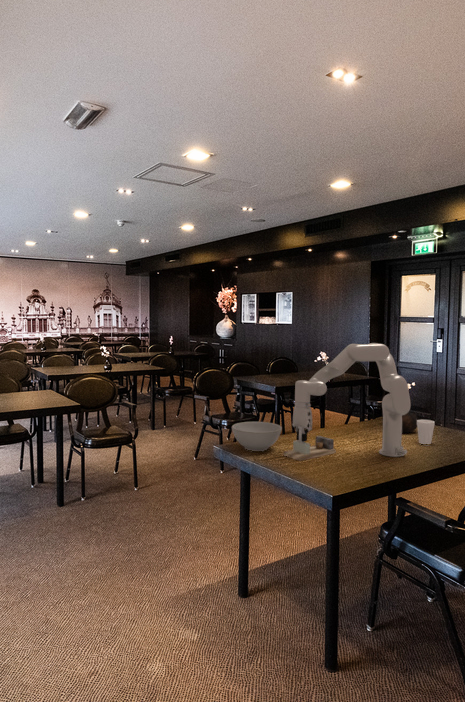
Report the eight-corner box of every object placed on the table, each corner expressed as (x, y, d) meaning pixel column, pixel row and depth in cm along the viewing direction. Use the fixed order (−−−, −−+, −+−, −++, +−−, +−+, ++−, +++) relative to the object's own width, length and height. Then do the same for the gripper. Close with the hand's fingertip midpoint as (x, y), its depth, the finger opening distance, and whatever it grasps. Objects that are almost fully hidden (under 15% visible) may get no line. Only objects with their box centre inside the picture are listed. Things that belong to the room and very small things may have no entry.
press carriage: (310, 453, 250) (311, 423, 249) (305, 454, 248) (305, 424, 247) (298, 449, 257) (298, 420, 257) (292, 450, 255) (293, 421, 254)
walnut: (324, 448, 260) (324, 443, 260) (319, 449, 258) (319, 443, 258) (319, 447, 263) (319, 441, 263) (314, 448, 261) (314, 442, 261)
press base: (335, 452, 259) (335, 439, 259) (299, 460, 244) (300, 447, 243) (318, 448, 269) (318, 435, 269) (283, 455, 253) (283, 442, 253)
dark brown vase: (418, 435, 301) (420, 390, 299) (387, 433, 306) (389, 388, 304) (416, 429, 318) (418, 386, 316) (387, 427, 323) (389, 385, 321)
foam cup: (434, 446, 275) (435, 423, 274) (416, 445, 278) (417, 422, 277) (433, 442, 284) (433, 420, 283) (415, 441, 287) (416, 419, 286)
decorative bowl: (270, 441, 283) (271, 420, 282) (289, 453, 257) (289, 430, 256) (225, 444, 275) (225, 422, 274) (239, 457, 249) (240, 433, 249)
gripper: (319, 406, 247) (318, 442, 248) (296, 401, 260) (295, 436, 261) (308, 407, 242) (308, 444, 244) (285, 403, 255) (285, 438, 257)
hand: (301, 440), depth 252 cm, fingers closed on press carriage, 3 cm apart
